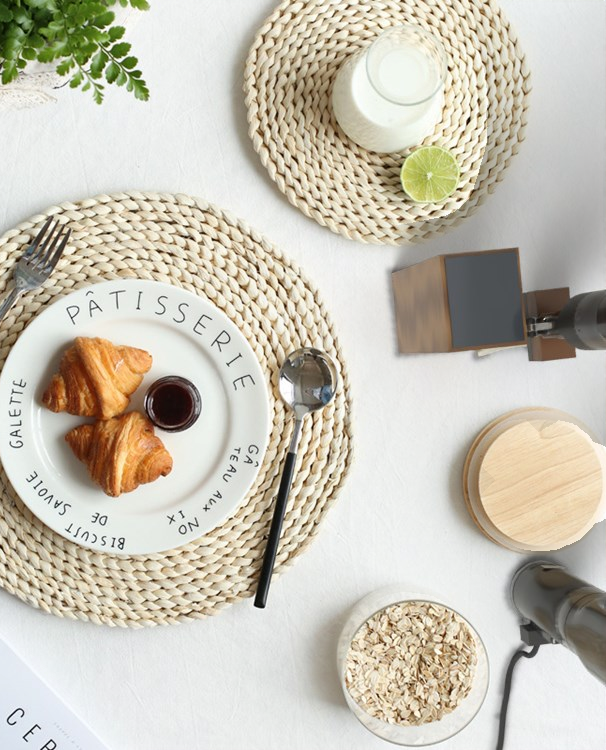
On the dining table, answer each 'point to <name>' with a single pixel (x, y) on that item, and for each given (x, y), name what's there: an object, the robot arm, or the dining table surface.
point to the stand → (433, 306)
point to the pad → (484, 299)
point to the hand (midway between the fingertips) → (542, 325)
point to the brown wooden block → (534, 307)
